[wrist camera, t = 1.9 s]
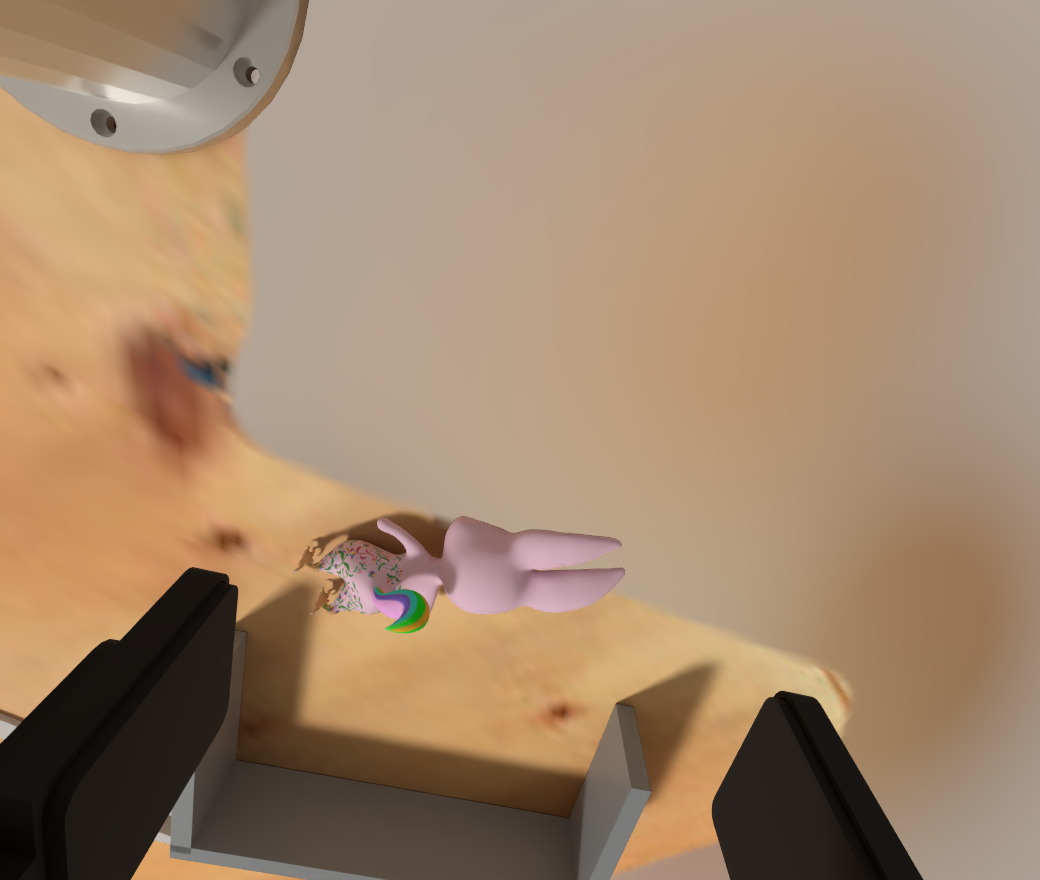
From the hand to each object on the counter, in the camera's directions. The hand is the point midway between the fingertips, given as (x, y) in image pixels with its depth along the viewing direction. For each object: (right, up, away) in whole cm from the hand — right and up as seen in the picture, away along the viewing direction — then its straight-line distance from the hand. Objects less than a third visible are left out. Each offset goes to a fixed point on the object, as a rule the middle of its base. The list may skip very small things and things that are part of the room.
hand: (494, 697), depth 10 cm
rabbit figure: (-2, -1, +19) cm, 19 cm away
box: (-5, -12, +23) cm, 27 cm away
